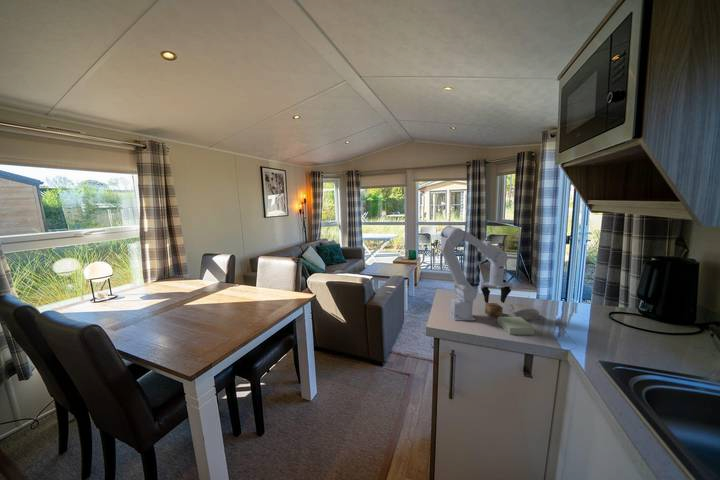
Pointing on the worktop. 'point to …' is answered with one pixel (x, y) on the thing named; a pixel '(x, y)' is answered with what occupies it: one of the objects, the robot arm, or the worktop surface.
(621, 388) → the worktop surface
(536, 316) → the stone block
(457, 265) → the robot arm
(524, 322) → the base block
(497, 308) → the walnut block
